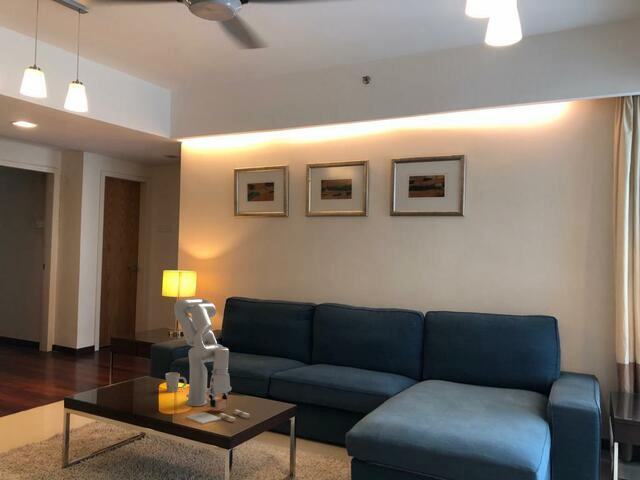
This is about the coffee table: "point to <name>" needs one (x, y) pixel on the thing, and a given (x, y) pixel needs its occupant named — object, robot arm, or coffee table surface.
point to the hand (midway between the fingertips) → (218, 405)
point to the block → (217, 403)
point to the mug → (173, 381)
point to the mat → (203, 418)
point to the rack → (233, 419)
